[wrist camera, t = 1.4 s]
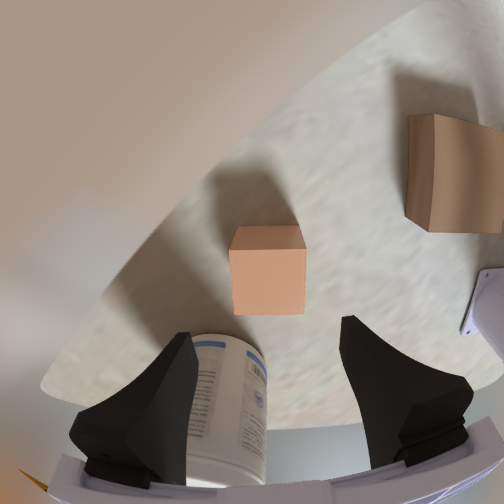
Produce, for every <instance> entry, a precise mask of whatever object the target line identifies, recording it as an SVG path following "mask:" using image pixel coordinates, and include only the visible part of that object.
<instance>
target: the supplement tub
mask: <svg viewBox="0 0 504 504" xmlns="http://www.w3.org/2000/svg"><path fill="white" fill-rule="evenodd" d="M192 341H193V345H194V348H195V351H196V354H197V358H198V361H199V371H198V381H197V386H196V390H195V395H194V399H193V404H192V408H191V413H190V418H189V424H188V435H187V452H186V486H191V487H207V488H226V487H232V486H252V485H265V471H266V430H267V367H266V364H265V361H264V359H263V358H262V356H261V355H260V353H259V352H258V351H257V350H256V349H254V348H253V347H252V346H251V345H249V344H248V343H246V342H244V341H242V340H240V339H238V338H235V337H232V336H228V335H221V334H202V335H198V336H194V337H192Z"/></svg>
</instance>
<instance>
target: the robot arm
mask: <svg viewBox="0 0 504 504" xmlns="http://www.w3.org/2000/svg"><path fill="white" fill-rule="evenodd" d="M477 333H481V335H482V336H483V337H484V338H485V340H486V341H487V342H488V343H489V345H490V346H491V347H492V348H493V350H494V351H495V352H496V354H497V355H498V356H499V358H500V359H501V360H502V362H503V363H504V268H496V269H483V270H481V271H480V273H479V277H478V280H477V284H476V287H475V291H474V294H473V297H472V301H471V304H470V307H469V310H468V313H467V316H466V319H465V321H464V324H463V327H462V330H461V333H460V334H461V336H468V335H473V334H477ZM339 351H340V355H341V359H342V362H343V366H344V369H345V371H346V374H347V377H348V379H349V382H350V384H351V387H352V389H353V392H354V394H355V397H356V399H357V402H358V405H359V408H360V412H361V416H362V420H363V424H364V429H365V434H366V439H367V444H368V450H369V456H370V464H371V470H369V471H365V472H361V473H357V474H353V475H349V476H344V477H339V478H334V479H329V480H323V481H320V480H312V481H302V482H293V483H284V484H272V485H252V486H232V487H226V488H207V487H191V486H186V452H187V435H188V424H189V418H190V413H191V408H192V404H193V399H194V395H195V390H196V386H197V381H198V371H199V361H198V358H197V354H196V351H195V348H194V345H193V341H192V338H191V334H190V332H181V333H177V334H176V335H175V337H174V338H173V339H172V340H171V341H170V342H169V344H168V345H167V346H166V347H165V348H164V350H163V351H162V352H161V353H160V354H159V355H158V357H157V358H156V359H155V360H154V361H153V362H152V363H151V364H150V365H149V366H148V367H147V368H146V369H145V370H144V371H143V372H142V373H141V374H140V375H139V376H138V377H137V378H136V379H135V380H133V381H132V382H131V383H130V384H128V385H127V386H126V387H124V388H123V389H122V390H120V391H119V392H117V393H116V394H114V395H113V396H111V397H109V398H108V399H106V400H104V401H102V402H101V403H99V404H97V405H95V406H92V407H90V408H88V409H86V410H83V411H81V412H79V413H78V415H77V417H76V419H75V421H74V423H73V425H72V428H71V429H70V432H69V436H70V438H71V440H72V442H73V443H74V444H75V445H76V446H77V447H78V448H79V449H80V450H81V451H82V452H83V453H84V454H85V455H86V456H87V457H88V459H87V462H84V461H82V460H80V459H78V458H74V457H71V456H68V455H65V454H62V455H61V457H60V459H59V462H58V464H57V467H56V469H55V472H54V474H53V477H52V479H51V482H50V485H49V487H48V490H47V494H48V495H50V496H51V497H53V498H54V499H56V500H57V501H59V502H61V503H62V504H438V503H440V502H442V501H444V500H445V499H447V498H449V497H451V496H453V495H455V494H457V493H458V492H460V491H462V490H464V489H466V488H467V487H469V486H471V485H472V484H474V483H476V482H477V481H479V480H481V479H482V478H484V477H485V476H486V475H487V474H488V473H489V472H491V471H492V470H493V469H494V468H495V467H496V466H497V465H498V464H499V463H500V462H502V461H503V460H504V441H503V440H502V438H501V436H500V434H499V432H498V430H497V429H496V427H495V425H494V423H493V422H492V420H491V418H490V417H489V416H486V417H484V418H483V419H481V420H479V421H477V422H475V423H473V424H472V425H470V426H469V427H468V428H466V429H465V428H464V426H463V424H464V423H465V419H464V417H463V414H464V412H465V411H466V409H467V408H468V406H469V405H470V403H471V401H472V399H473V394H474V392H473V390H472V388H471V386H470V385H469V383H468V382H467V381H466V379H465V378H464V377H462V376H458V375H454V374H450V373H446V372H443V371H440V370H437V369H434V368H431V367H429V366H426V365H424V364H422V363H420V362H418V361H416V360H414V359H412V358H410V357H408V356H406V355H405V354H403V353H401V352H400V351H398V350H397V349H395V348H394V347H392V346H391V345H389V344H388V343H387V342H385V341H384V340H383V339H381V338H380V337H379V336H378V335H376V334H375V333H374V332H373V331H372V330H370V329H369V328H368V327H367V326H366V325H365V324H363V323H362V322H361V321H360V320H359V319H358V318H357V317H355V316H354V315H352V316H346V317H342V322H341V334H340V345H339Z"/></svg>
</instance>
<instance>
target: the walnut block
mask: <svg viewBox="0 0 504 504" xmlns="http://www.w3.org/2000/svg"><path fill="white" fill-rule="evenodd" d="M408 125H409V162H408V186H407V201H406V213H405V217H406V218H408V219H409V220H411V221H412V222H414V223H415V224H417V225H418V226H420V227H421V228H423V229H424V230H426V231H427V232H445V233H501V232H502V227H503V221H504V132H501V131H498V130H495V129H492V128H489V127H485V126H482V125H478V124H475V123H471V122H468V121H464V120H460V119H456V118H451V117H447V116H443V115H438V114H426V115H416V116H408Z"/></svg>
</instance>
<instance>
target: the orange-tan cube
mask: <svg viewBox="0 0 504 504" xmlns="http://www.w3.org/2000/svg"><path fill="white" fill-rule="evenodd" d="M229 260H230V272H231V283H232V295H233V305H234V315H292V314H304V303H305V281H306V246H305V242H304V239H303V236H302V232H301V229H300V226H299V225H275V226H238V228H237V230H236V233H235V235H234V238H233V241H232V243H231V246H230V248H229Z"/></svg>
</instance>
